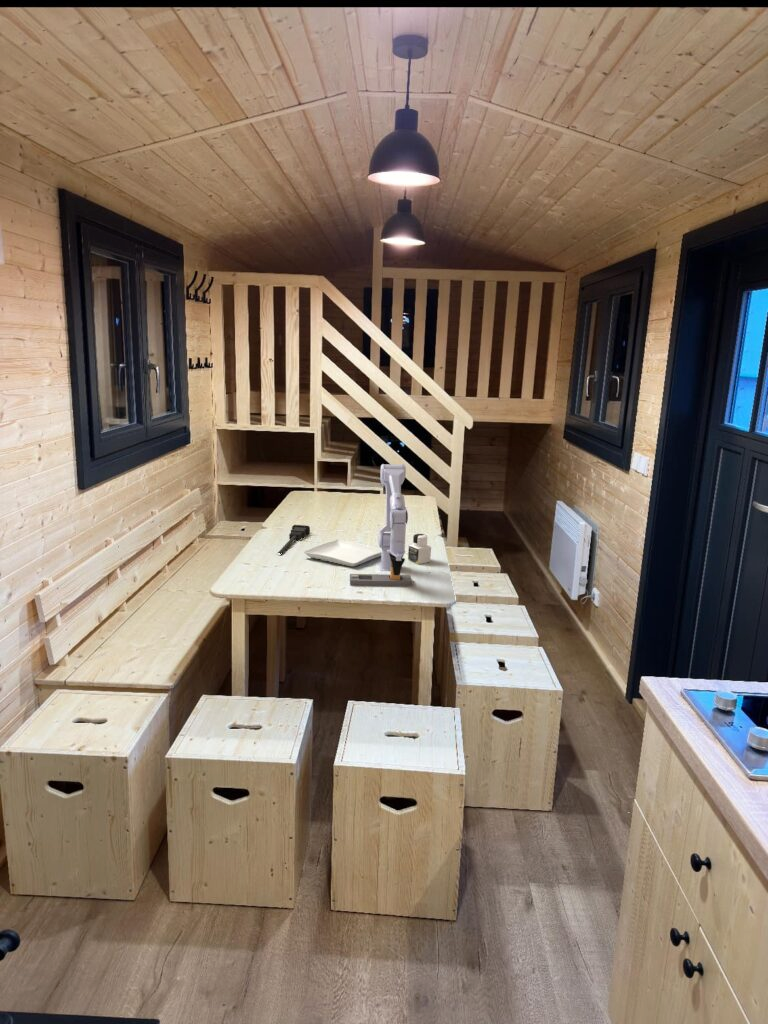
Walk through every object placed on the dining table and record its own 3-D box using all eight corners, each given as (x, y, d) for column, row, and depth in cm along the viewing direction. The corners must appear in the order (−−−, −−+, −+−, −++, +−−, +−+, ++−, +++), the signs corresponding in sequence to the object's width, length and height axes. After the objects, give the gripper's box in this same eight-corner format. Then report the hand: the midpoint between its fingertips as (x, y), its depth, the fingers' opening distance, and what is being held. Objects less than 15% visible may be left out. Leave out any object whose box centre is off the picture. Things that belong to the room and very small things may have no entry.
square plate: (354, 571, 293) (354, 562, 292) (301, 559, 307) (301, 550, 306) (388, 556, 316) (388, 548, 315) (337, 546, 329) (337, 538, 328)
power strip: (349, 579, 281) (349, 572, 280) (409, 580, 283) (410, 573, 282) (350, 586, 273) (350, 578, 273) (411, 587, 275) (412, 579, 275)
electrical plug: (312, 532, 350) (312, 523, 348) (289, 560, 310) (289, 549, 309) (295, 531, 351) (295, 521, 350) (270, 558, 311) (269, 547, 310)
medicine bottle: (407, 560, 311) (409, 533, 308) (420, 558, 315) (422, 531, 312) (417, 564, 305) (419, 537, 302) (430, 562, 309) (432, 535, 306)
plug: (390, 579, 280) (390, 561, 278) (398, 579, 280) (399, 561, 279) (390, 582, 277) (391, 564, 275) (399, 582, 277) (400, 564, 275)
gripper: (386, 534, 281) (384, 567, 284) (388, 544, 267) (387, 578, 270) (403, 535, 282) (402, 567, 285) (407, 545, 268) (405, 579, 271)
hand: (396, 573), depth 278 cm, fingers open, 4 cm apart
